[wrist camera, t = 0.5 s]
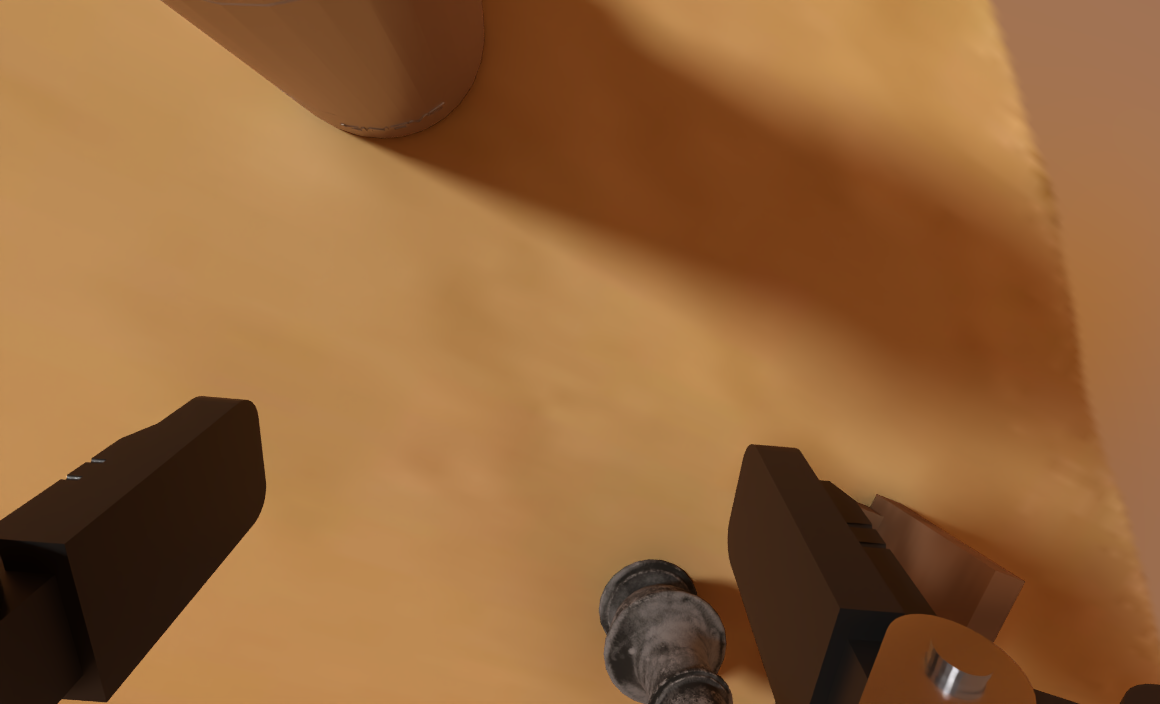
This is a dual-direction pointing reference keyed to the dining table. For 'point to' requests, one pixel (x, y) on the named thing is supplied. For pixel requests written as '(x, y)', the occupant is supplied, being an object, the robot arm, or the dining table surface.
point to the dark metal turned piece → (662, 637)
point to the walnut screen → (946, 569)
